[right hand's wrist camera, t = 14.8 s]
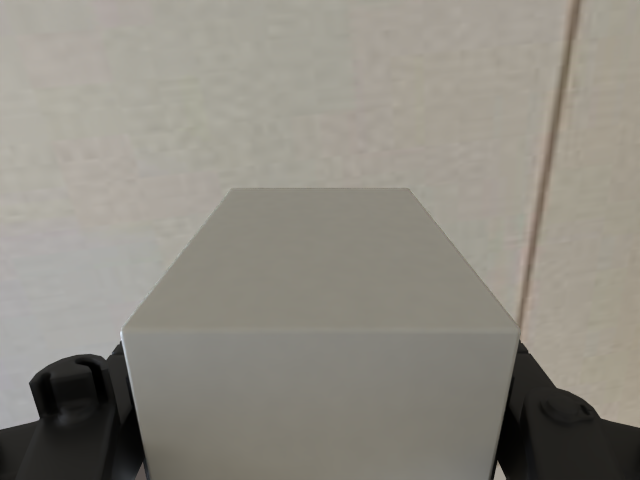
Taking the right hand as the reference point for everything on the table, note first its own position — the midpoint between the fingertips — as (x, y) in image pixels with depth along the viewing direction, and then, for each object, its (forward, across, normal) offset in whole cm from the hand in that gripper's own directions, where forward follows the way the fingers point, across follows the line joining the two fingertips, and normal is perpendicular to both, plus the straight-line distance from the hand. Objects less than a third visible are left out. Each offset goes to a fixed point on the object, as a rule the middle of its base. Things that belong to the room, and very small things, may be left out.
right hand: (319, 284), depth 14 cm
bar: (+1, 0, -8) cm, 8 cm away
